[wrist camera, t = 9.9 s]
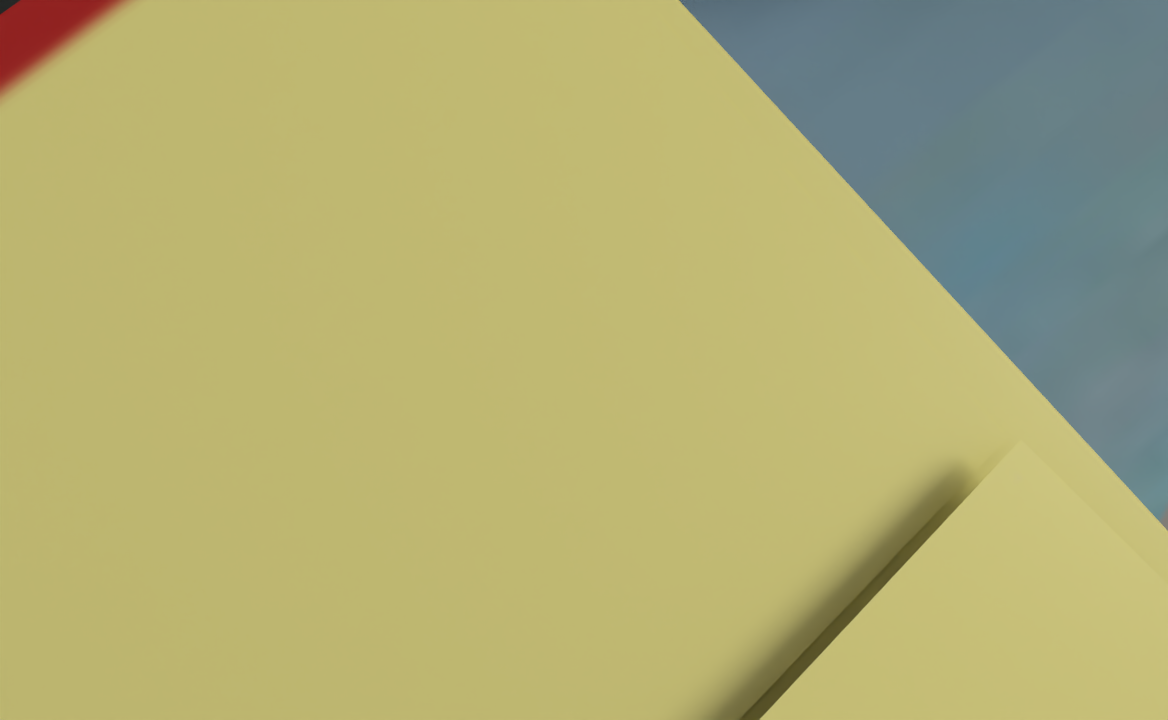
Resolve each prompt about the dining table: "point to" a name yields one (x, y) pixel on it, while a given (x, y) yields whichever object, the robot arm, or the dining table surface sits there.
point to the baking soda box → (507, 393)
